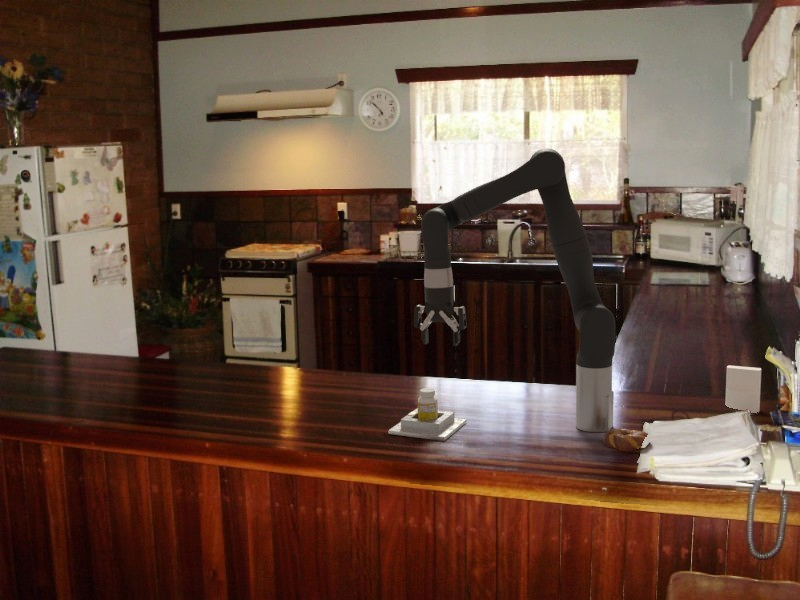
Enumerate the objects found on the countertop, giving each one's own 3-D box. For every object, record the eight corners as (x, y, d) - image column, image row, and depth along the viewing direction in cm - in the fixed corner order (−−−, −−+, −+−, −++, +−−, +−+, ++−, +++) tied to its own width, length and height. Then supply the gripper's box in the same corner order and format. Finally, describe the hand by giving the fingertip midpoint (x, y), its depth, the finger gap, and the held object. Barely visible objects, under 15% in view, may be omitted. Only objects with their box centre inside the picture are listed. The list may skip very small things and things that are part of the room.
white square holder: (466, 422, 245) (466, 409, 244) (444, 440, 230) (444, 427, 230) (412, 416, 251) (412, 404, 251) (388, 433, 237) (388, 420, 236)
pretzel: (644, 437, 230) (644, 423, 229) (657, 452, 219) (658, 437, 219) (597, 438, 230) (598, 424, 229) (608, 453, 219) (609, 438, 218)
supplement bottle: (432, 428, 237) (431, 393, 235) (414, 426, 240) (413, 391, 238) (441, 423, 242) (440, 388, 240) (423, 420, 244) (423, 386, 243)
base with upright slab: (722, 412, 249) (724, 370, 247) (727, 403, 256) (729, 362, 254) (757, 415, 244) (759, 373, 242) (761, 407, 252) (763, 365, 250)
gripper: (408, 286, 236) (410, 346, 238) (459, 287, 230) (461, 348, 233) (419, 281, 242) (421, 340, 245) (468, 282, 237) (470, 342, 239)
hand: (440, 344), depth 239 cm, fingers open, 8 cm apart
